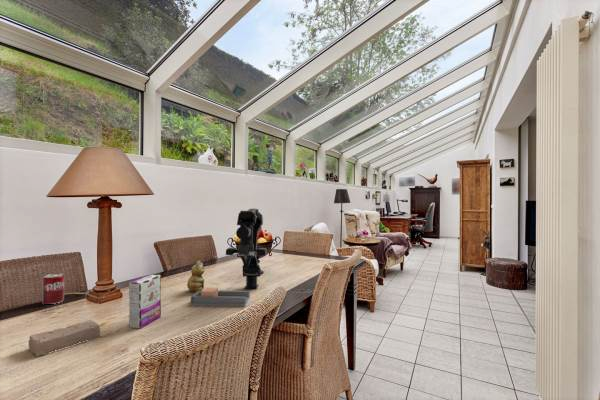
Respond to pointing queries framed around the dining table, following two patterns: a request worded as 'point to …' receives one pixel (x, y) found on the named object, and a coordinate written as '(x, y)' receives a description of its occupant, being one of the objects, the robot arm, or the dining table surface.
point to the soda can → (53, 289)
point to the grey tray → (221, 299)
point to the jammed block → (209, 291)
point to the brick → (63, 337)
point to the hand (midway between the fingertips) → (246, 269)
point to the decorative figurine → (196, 277)
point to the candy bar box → (144, 301)
